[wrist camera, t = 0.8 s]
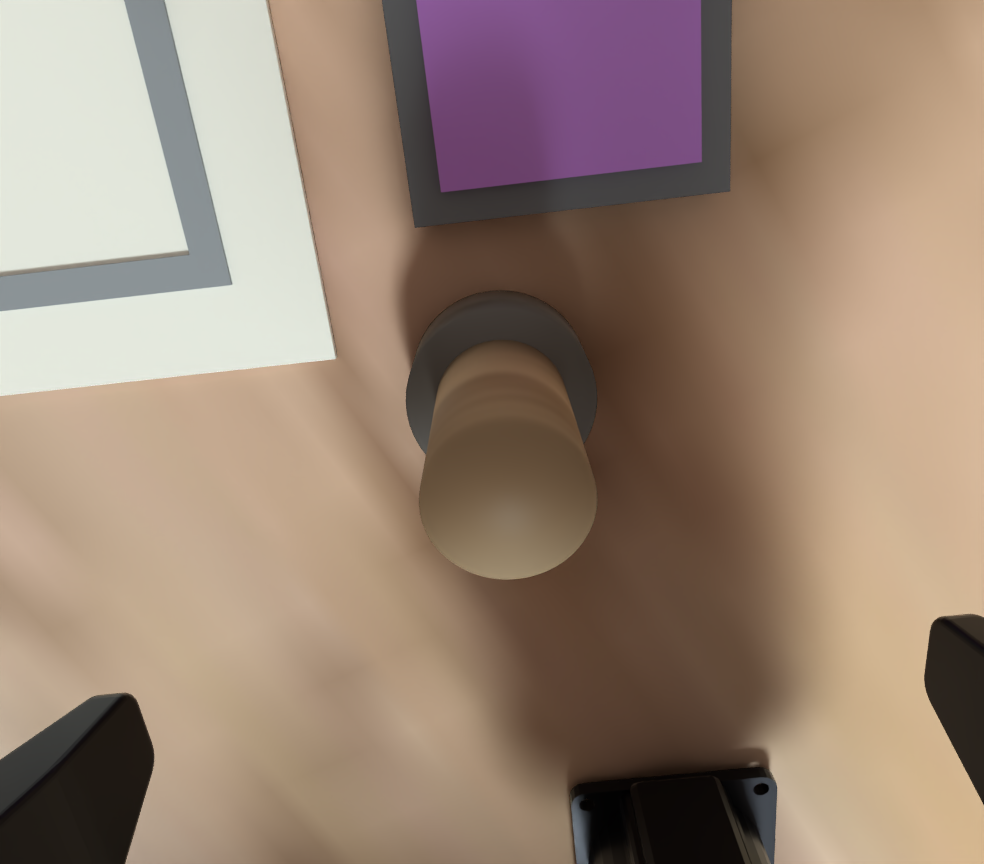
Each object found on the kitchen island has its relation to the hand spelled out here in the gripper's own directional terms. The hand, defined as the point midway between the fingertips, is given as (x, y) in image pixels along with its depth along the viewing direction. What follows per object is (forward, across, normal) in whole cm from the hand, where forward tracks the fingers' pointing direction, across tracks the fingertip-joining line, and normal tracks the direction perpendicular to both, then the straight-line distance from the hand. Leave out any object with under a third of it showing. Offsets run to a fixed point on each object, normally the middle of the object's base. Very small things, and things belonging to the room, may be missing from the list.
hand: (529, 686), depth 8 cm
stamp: (+12, 0, 0) cm, 12 cm away
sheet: (+11, +10, -7) cm, 17 cm away
